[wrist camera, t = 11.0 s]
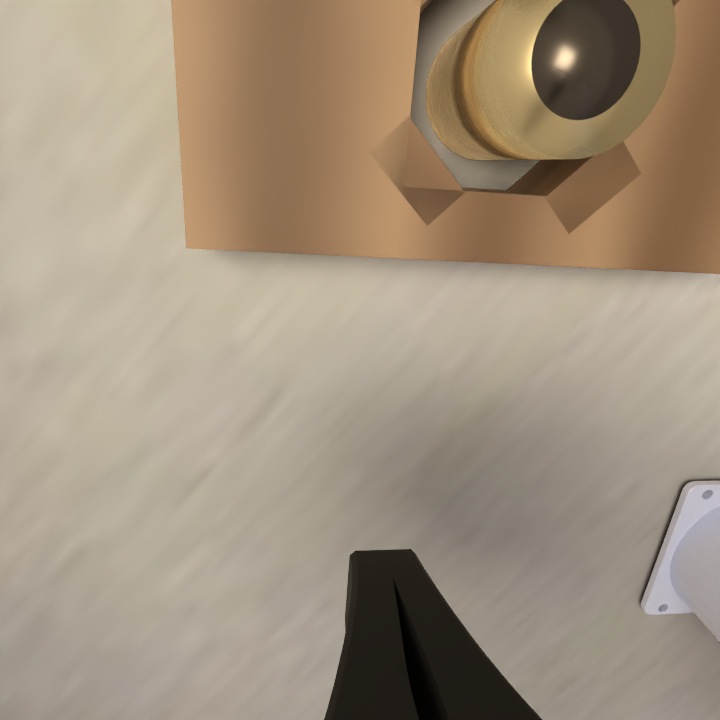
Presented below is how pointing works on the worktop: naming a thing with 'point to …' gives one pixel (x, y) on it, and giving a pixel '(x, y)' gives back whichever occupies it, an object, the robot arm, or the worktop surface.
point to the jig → (421, 149)
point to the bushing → (550, 77)
